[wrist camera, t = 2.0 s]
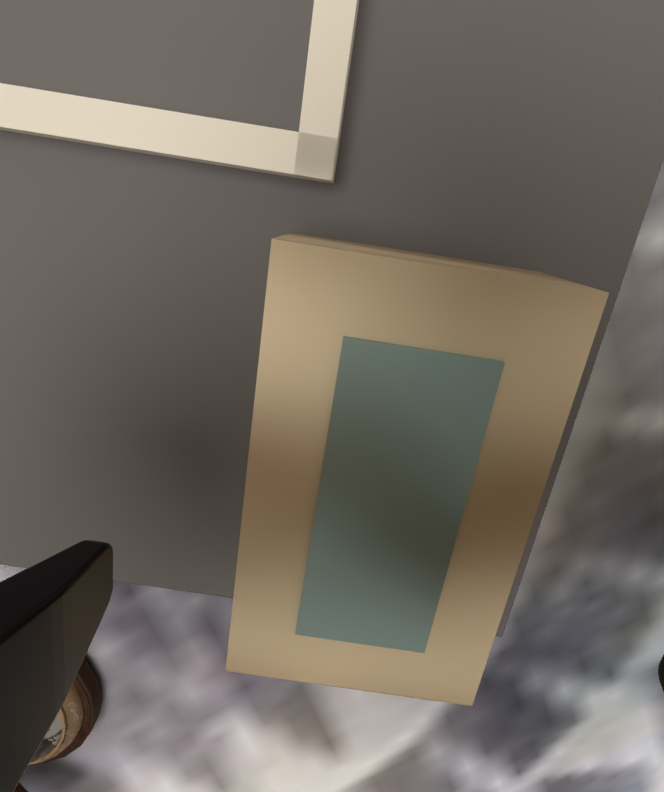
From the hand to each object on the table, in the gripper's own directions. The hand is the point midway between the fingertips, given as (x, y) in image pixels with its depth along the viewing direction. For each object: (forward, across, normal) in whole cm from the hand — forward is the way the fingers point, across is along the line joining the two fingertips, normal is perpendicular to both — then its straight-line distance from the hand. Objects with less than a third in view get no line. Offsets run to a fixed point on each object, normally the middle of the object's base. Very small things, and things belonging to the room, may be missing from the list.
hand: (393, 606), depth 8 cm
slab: (+6, 0, 0) cm, 6 cm away
